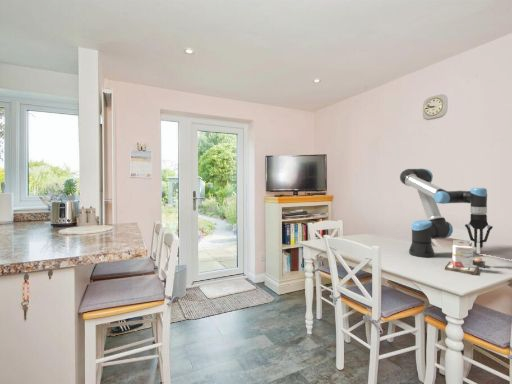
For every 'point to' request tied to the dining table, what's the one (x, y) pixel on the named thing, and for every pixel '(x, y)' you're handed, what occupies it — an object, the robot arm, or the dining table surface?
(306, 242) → the dining table surface
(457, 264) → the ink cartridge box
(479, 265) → the button housing
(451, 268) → the brown divided square tray
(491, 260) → the dining table surface
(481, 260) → the button
